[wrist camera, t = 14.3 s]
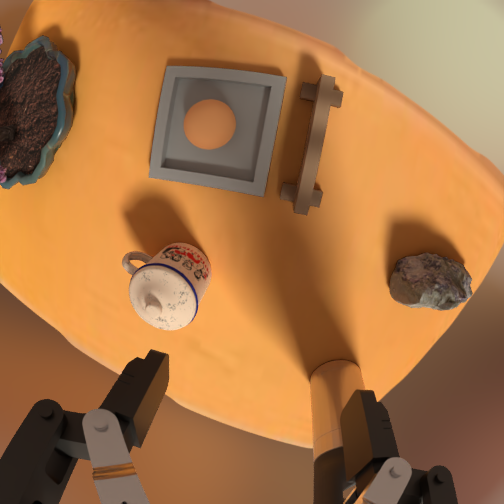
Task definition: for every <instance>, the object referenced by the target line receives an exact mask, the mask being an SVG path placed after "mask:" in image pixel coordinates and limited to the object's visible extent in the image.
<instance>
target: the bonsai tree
mask: <svg viewBox="0 0 504 504" xmlns="http://www.w3.org/2000/svg"><path fill="white" fill-rule="evenodd" d="M1 31H2V29H1V27H0V45H1V44H2V43H3V38H2V34H1ZM1 52H2V50H0V53H1ZM3 60H4V59H2V58H1V59H0V185H1V186H2V188H4V189H10V188H11V187H12V186H13V185H15V184H17V183H18V182H20V183H21V184H22V185H27V184H32V183H36V181H37V179H40V178H42V177H43V176H44V175H45V174H46V173H47V171H48V169H49V168H50V166H51V164H52V163H53V161H54V154H55V153H56V152H57V150H58V149H59V148H60V146H61V144H62V142H63V141H64V140H65V139H66V138H67V136H68V133H69V131H70V129H71V127H72V123H73V115H74V112H73V105H74V99H75V96H74V82H75V79H76V67H75V65H74V64H73V63H72V62H71V61H70V60H69V58H68V57H67V56H66V55H64V54H63V53H62V52H61V51H58V49H57V45H56V44H55V43H54V42H52V41H50V39H49V38H48V37H46V36H44V35H42V36H41V37H39V38H37V39H35V40H33V41H32V42H30V43H29V44H27V46H26V47H25V49H24V50H18V51H14V52H12V53H11V54H10V55H9V56H8V57H7V58H6V60H5V62H4V63H3V62H2V61H3Z"/></svg>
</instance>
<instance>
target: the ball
mask: <svg viewBox="0 0 504 504" xmlns="http://www.w3.org/2000/svg"><path fill="white" fill-rule="evenodd" d="M235 129H236V119H235V115H234V113H233V111H232V110H231V109H230V107H229V106H228V105H226V104H225V103H223V102H221V101H218V100H214V99H208V100H203V101H200V102H198V103H196V104H195V105H193V106H192V107H191V108H190V109H189V110H188V112H187V114H186V116H185V118H184V132H185V135H186V137H187V139H188V140H189V141H190V142H191V143H192V144H193V145H195V146H196V147H199V148H201V149H207V150H211V149H216V148H219V147H222V146H223V145H225V144H226V143H227V142H228V141H229V140H230V139H231V138H232V136H233V134H234V132H235Z"/></svg>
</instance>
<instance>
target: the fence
mask: <svg viewBox="0 0 504 504" xmlns="http://www.w3.org/2000/svg"><path fill="white" fill-rule="evenodd" d="M334 84H335V77H331V76H327V75H323V74H322V75H321V77H320V79H319V81H318V83H317V85H314V84H310V83H305V82H303V84H302V89H301V94H300V99H304V100H309V101H313V108H312V113H311V118H310V123H309V128H308V133H307V138H306V143H305V148H304V153H303V158H302V163H301V168H300V172H299V177H298V182H297V185H294V184H290V183H285V182H283V185H282V190H281V195H280V199H282V200H287V201H292V202H293V209H294V213H298V214H303V215H307V214H308V210H309V206H314V207H320V203H321V198H322V194H323V192H322V191H321V190H316V189H313V188H314V184H315V179H316V175H317V170H318V166H319V161H320V156H321V151H322V147H323V142H324V137H325V132H326V127H327V122H328V116H329V111H330V106H333V107H337V108H340V107H341V103H342V97H343V92H342V91H338V90H334Z"/></svg>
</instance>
